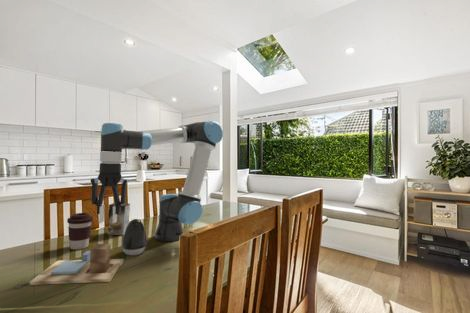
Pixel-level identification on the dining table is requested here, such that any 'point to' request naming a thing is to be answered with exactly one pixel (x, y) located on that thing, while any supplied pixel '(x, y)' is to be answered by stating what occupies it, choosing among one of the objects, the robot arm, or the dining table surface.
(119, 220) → the coffee box
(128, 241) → the dark grey rounded dome
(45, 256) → the dining table surface
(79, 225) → the coffee cup
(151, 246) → the dining table surface
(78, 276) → the board
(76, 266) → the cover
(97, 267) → the block
